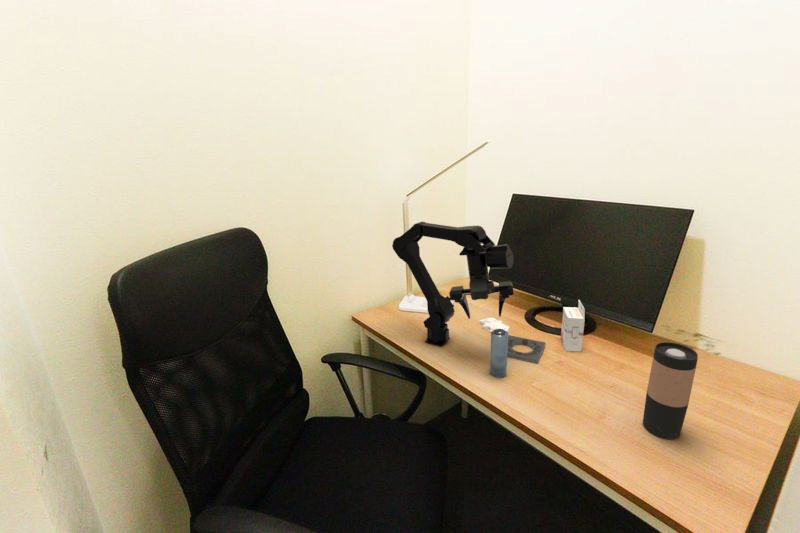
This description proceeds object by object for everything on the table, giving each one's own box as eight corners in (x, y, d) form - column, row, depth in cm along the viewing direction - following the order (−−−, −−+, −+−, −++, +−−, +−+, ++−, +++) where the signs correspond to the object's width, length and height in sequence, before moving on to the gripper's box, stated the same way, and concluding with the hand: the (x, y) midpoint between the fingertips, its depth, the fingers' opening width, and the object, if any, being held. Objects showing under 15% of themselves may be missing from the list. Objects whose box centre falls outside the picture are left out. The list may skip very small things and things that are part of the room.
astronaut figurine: (495, 319, 144) (496, 312, 143) (514, 333, 133) (514, 325, 132) (475, 323, 142) (475, 316, 141) (492, 337, 131) (492, 329, 130)
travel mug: (633, 418, 89) (646, 343, 83) (664, 415, 90) (679, 340, 84) (657, 442, 82) (673, 361, 76) (690, 438, 83) (708, 358, 77)
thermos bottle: (487, 375, 109) (489, 333, 105) (492, 367, 112) (494, 326, 108) (503, 379, 106) (505, 336, 102) (508, 371, 110) (510, 329, 106)
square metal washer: (498, 354, 119) (498, 351, 119) (508, 338, 129) (508, 335, 129) (537, 363, 113) (537, 360, 113) (545, 345, 123) (545, 342, 123)
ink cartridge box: (559, 338, 127) (563, 297, 123) (575, 339, 126) (579, 298, 122) (565, 351, 119) (569, 308, 115) (581, 352, 118) (586, 309, 114)
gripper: (443, 279, 108) (451, 329, 111) (510, 272, 103) (517, 325, 106) (448, 269, 119) (455, 315, 122) (509, 262, 113) (515, 311, 117)
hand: (484, 317), depth 116 cm, fingers open, 9 cm apart
